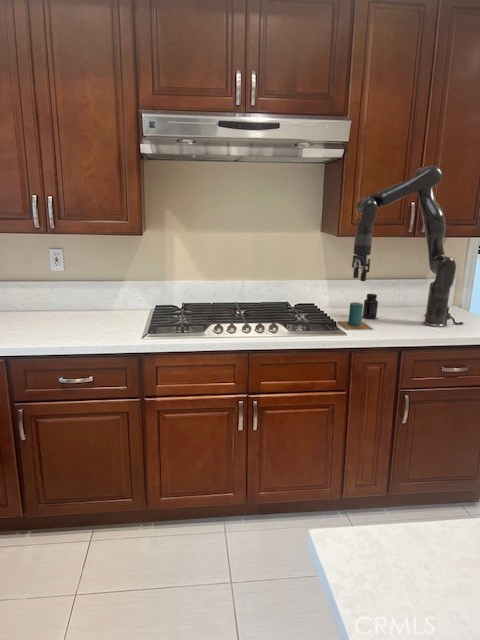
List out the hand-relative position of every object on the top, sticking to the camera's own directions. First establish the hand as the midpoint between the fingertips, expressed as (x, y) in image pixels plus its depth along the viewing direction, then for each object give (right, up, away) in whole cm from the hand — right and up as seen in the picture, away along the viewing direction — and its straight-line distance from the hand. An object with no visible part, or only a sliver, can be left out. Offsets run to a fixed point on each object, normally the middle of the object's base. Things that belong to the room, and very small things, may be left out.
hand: (359, 279), depth 214 cm
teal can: (-1, -21, +6) cm, 22 cm away
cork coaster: (-1, -21, +6) cm, 22 cm away
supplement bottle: (+11, -18, +22) cm, 30 cm away
